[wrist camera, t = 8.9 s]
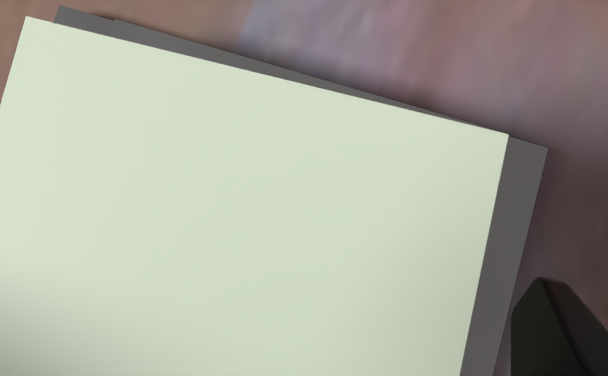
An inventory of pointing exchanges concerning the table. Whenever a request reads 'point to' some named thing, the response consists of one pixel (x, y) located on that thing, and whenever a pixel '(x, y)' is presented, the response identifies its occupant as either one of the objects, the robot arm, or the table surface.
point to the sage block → (228, 220)
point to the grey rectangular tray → (518, 155)
